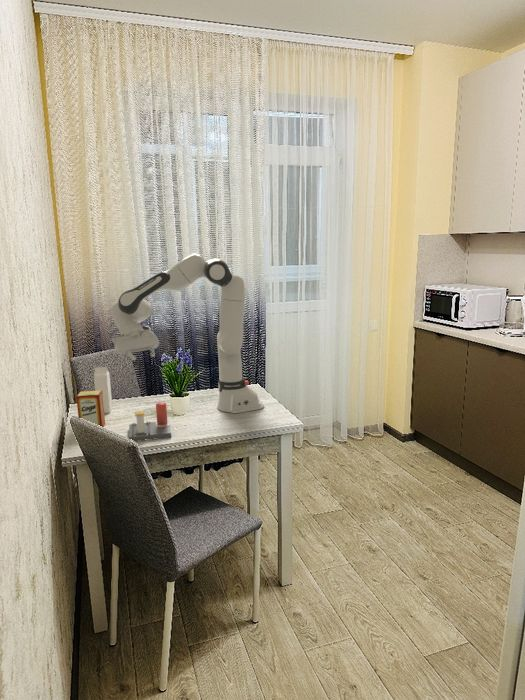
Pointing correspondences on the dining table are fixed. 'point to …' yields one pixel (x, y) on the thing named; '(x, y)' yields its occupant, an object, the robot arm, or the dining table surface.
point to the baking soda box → (91, 407)
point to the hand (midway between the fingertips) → (144, 357)
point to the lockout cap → (161, 413)
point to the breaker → (140, 423)
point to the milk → (103, 386)
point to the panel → (150, 431)
